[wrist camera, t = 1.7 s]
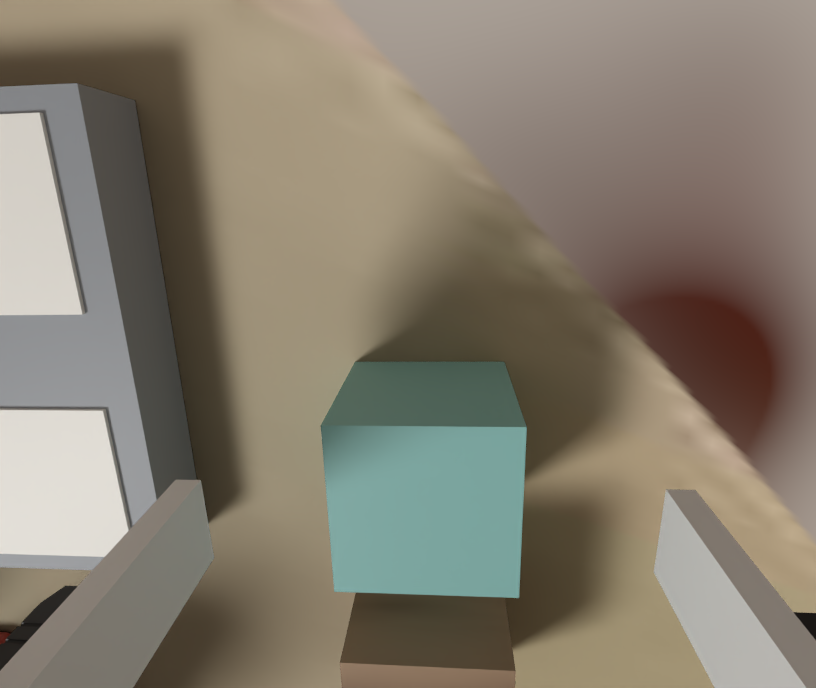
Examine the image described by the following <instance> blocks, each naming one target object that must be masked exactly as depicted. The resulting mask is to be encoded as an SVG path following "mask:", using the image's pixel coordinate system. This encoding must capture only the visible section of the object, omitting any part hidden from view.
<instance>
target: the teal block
mask: <svg viewBox="0 0 816 688" xmlns="http://www.w3.org/2000/svg"><path fill="white" fill-rule="evenodd" d="M526 432H527V427H526V424H525V421H524V418H523V415H522V412H521V409H520V406H519V403H518V400H517V397H516V395H515V392H514V389H513V386H512V383H511V380H510V377H509V374H508V371H507V368H506V365H505V363H504V362H355V363H354V365H353V367H352V369H351V371H350V372H349V374H348V376H347V378H346V380H345V382H344V384H343V385H342V387H341V389H340V391H339V393H338V395H337V397H336V398H335V400H334V402H333V404H332V406H331V408H330V409H329V411H328V413H327V415H326V417H325V419H324V421H323V422H322V424H321V433H322V445H323V457H324V470H325V482H326V494H327V507H328V519H329V531H330V544H331V556H332V568H333V581H334V592H358V593H388V594H417V595H446V596H475V597H505V598H519V587H520V565H521V543H522V521H523V498H524V476H525V454H526Z"/></svg>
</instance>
